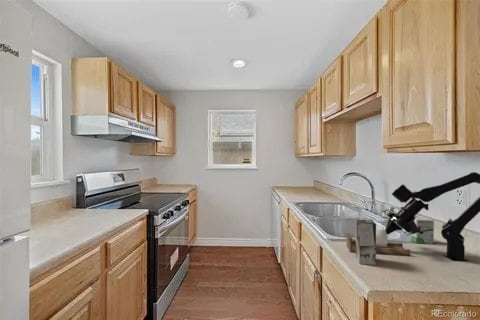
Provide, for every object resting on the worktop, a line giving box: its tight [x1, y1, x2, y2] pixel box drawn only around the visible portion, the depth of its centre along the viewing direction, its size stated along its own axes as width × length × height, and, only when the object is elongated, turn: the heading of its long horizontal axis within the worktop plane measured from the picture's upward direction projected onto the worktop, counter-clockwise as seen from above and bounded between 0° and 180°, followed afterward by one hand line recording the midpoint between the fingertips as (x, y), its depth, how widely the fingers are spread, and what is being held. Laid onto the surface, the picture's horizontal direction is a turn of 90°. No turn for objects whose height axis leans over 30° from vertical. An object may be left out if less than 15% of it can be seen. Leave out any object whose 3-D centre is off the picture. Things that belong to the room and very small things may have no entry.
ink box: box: [411, 217, 435, 245], centre depth 153 cm, size 9×5×12 cm, turn 88°
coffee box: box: [355, 219, 377, 266], centre depth 125 cm, size 9×6×16 cm
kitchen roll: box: [376, 229, 388, 248], centre depth 139 cm, size 10×8×8 cm
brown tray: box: [346, 232, 411, 257], centre depth 139 cm, size 24×11×6 cm, turn 78°
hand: (384, 234), depth 140 cm, fingers closed, pressing on kitchen roll
